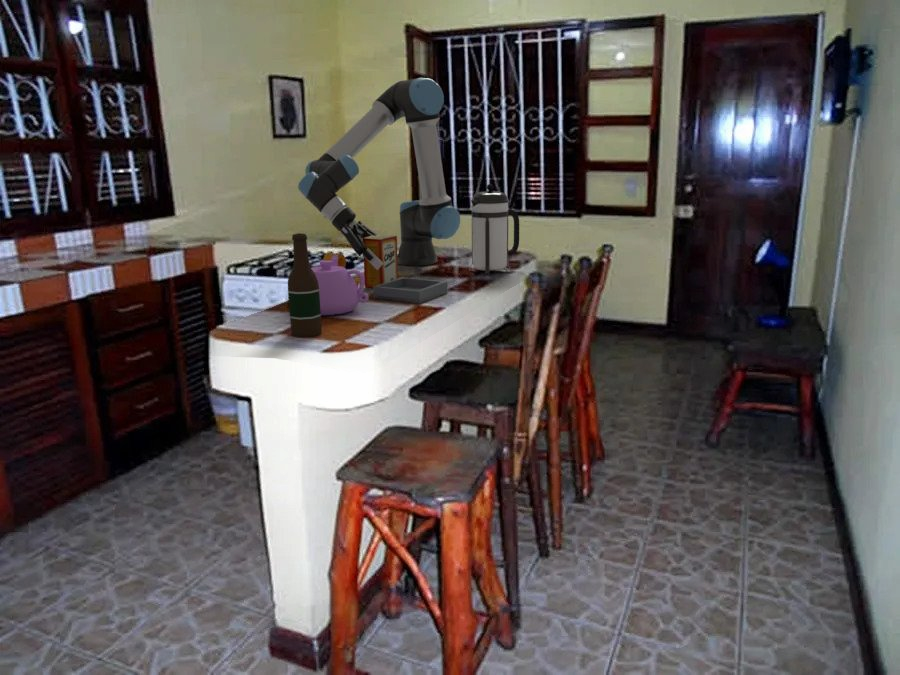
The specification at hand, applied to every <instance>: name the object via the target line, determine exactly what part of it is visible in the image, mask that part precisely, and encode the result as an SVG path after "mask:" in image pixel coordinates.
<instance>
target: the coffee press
mask: <svg viewBox="0 0 900 675" xmlns="http://www.w3.org/2000/svg"><path fill="white" fill-rule="evenodd" d="M493 189H494V186H493V184H492V183H489V184H487V185H486V190H487V191H480V192H476V193H474V195H473V196H472V199H471V200H470V203H471V206H470V211H471V265H470V266H469V268H468V271H469V272H470V271H471V269H470V268H471V267H472V266H473V269H474V270H480V271H484V276H485V275H489V276H490V273H491V271H501V270H504V271H505V272H507V273H508V274H509V273H511V272H512V267H510V265H509V257H510V256H513V255H515V254H516V252H517V251H518V249H519V246H520V218H519V215H518V213H517V212H516V210H514V209H510V208H509V202H510V200H509V198H508V195H507V194H506V193H504V192H501V191H493ZM508 208H509V209H508ZM509 215H510V216H511V217H512V219H513V244H512V248H511V249H510V250H509ZM506 267H508V268H509V270H510V271H508V270H507V268H506Z"/></svg>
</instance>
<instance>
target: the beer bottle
mask: <svg viewBox="0 0 900 675" xmlns="http://www.w3.org/2000/svg"><path fill="white" fill-rule="evenodd" d="M291 240H292V242H293V244H292V246H293V265H292V269H291V272H290V274H289V275H288V279H287V295H288V296H287V298H288V297H289V300H288V309H289V320H290V330H291V336H292V337H296V338H297V337H298V338H310V337H311V338H313V337H316V336H319V335H321V334H322V331H323V330H322V315H321V310H320V295H319V285H318V280H317V277H316V275H315V273H314V272H313V270H312V269H311V268H312V267H311V265H310V259H309V251H308V244H307V242H308V241H307V240H308V236H307V233H304V232H303V233H293V234H292V237H291Z"/></svg>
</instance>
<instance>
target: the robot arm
mask: <svg viewBox="0 0 900 675" xmlns="http://www.w3.org/2000/svg"><path fill="white" fill-rule="evenodd" d="M444 99H445V96H444V92H443V90H442V88H441V86H440V85H439V83H437V82H436V81H435V79H434V80H433V79H432V78H429V77H427V78H425V77H418V78H413V79H407V80H405V79H404V80H399V81H397V82H395V83H393V84H392V85H391V86H389V87H388V88H387V89H386V90H385V91H384V92H383V93H382V94H381V95H379V97H377V98H376V99H375V100H374V101H373V102H372V108H370V109H369V110H368V111H367V112H366V113H365V115H363V116H361V118H360V119H358V121H357V122H356V123H355V124H354V125H352V126H351V128H349V130H347V131H346V133H344V134H343V135H342V136H341V137H340V138H339V139H338V140H337V141H336V142H335V143H334V144H333V145H332V146H331V147H330V148H329V149H328V150H327V151H325V153H323V154H322V155H321V156H320V157H319V158H318V159H315V160H312V161H310V162H308V163H307V165H306V167H305V175H304V176H303V177H302V178H301V180H300V181H299V182H298V186H297V188H298V191H299V192H300V193H301V194H302V195H303V196H304V198H305V199H306V200H307V201H308V202H310V204H312V205H313V206H314V207H315V209H317V210H318V211H319V213H320V214H321V215H323V219H327V220H328V221H329V222H330V223H331V225H332V226H333V227H334V228H335V229H336V230H337V231H338V232H340V233H341V234H342V235H343V236H344V237H345V238H346V240H347V242H348V243H349V245H350V246H351V248H352V249H353V250H354V252H355V253H356V255H357V256H358V257H361V256H362V257H363V258H364V257H365V258H366V259H367V260H368V261H369V262H370V263H371V264H372V265H373V266H374V267H375V268H376V269H377V270H378V269H379V268H380V267H381V266H382V265H383V263H382V262H381V260H380V259H379V258H378V257H377V256H376V255H375V254H374V253H373V252H372V251H371V250H370V249H369V248H368V249H367V248H366V246H365V244H364V242H363V238H366V237H369V236H372V235H373V236H376V235H378V234H377V233H376V232H375V231H373V230H371V229H370V228H369V227H368V226H367V225H365V224H364V223H363V222H362V221H361V220H358V221H355V219H356V217H357V215H356V213H355V212H354V211H353V210H352V209H351V207H347V206H348V205H347V203H346V202H345V201H344V200H343V199H342V198H340V196H339V195H338V194H337V192H339V191H340V190H342V188H344V187H345V186H346V185H348V183H350V182H351V181H353V180H354V179H355V178H356V177H357V176H358V175H359V173H360V168H359V166H358V165H359V164H357V162H356V160H355V159H354V157H356V156H357V155H358V154H359V153H360V152H362V150H363V149H364V148H365V147H366V146H367V145H368V144H369V143H370V142H371V141H372V140H373V139H374V138H376V137H377V135H378V134H380V133H381V132H382V131H383V130H384V129H385V127H387V126H392V125H394V124H395V122H397V121H398V120H400V119H402V118H404V119H405V124H406V125H407V126H409V127H410V129H411V136H412V141H413V147H414V154H415V159H416V168H417V173H418V174H417V175H418V178H419V186H420V187H419V188H420V194H421V198H420V200H419V199H418V200H410V201H409V200H408V201H403V202H401V203H400V205H399V220H400V221H399V224H400V245H399V249H398V251H397V253H398V265H401V266H408V267H409V266H410V267H411V266H413V267H414V266H415V267H416V266H419V267H420V266H428V265H435V264H437V263H438V256H437V253H436V250H435V247H434V244H433V239H436V240H447V239H450V238H452V237H453V236H454V235H456V233H457V231H459V228H460V224H461V215H460V212H459V210H458V209H456V207H454V206H453V203H452V202H453V201H452V198H451V196H449V195H448V194H447V190H446V184H445V183H446V182H445V177H444V171H443V170H444V168H443V162H442V155H441V149H440V148H441V147H440V142H439V135H438V128H437V123H438V121H439V120H440V119H441V118H440V111H441V110H442V109H443V108H442V107H443V106H444V103H445V100H444ZM366 249H367V250H366ZM436 262H437V263H436ZM434 263H435V264H434Z"/></svg>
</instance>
